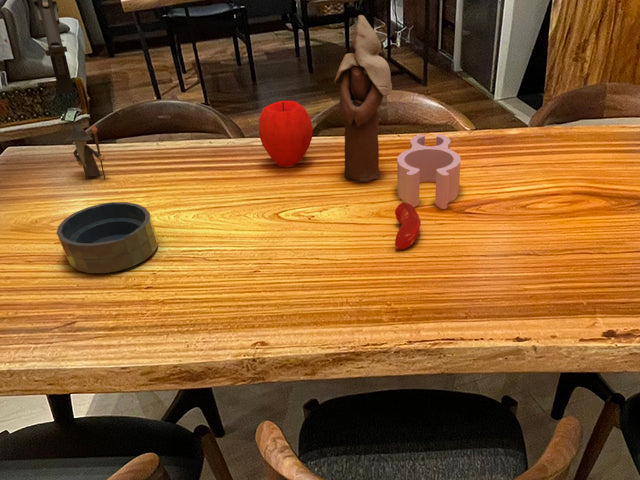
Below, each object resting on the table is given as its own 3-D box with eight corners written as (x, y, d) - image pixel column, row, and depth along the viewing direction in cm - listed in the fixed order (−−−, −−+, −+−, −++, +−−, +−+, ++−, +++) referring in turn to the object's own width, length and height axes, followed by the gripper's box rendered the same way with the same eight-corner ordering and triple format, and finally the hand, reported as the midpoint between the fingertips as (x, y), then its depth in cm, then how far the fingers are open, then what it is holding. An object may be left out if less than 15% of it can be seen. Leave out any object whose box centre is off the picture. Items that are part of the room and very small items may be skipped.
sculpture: (401, 164, 138) (400, 10, 118) (386, 189, 129) (383, 27, 109) (351, 159, 140) (343, 8, 120) (333, 184, 131) (321, 25, 111)
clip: (401, 165, 137) (401, 134, 132) (458, 166, 136) (460, 134, 131) (395, 208, 122) (394, 174, 118) (458, 209, 121) (460, 175, 117)
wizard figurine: (75, 182, 136) (54, 126, 128) (85, 171, 140) (65, 117, 132) (112, 181, 135) (94, 126, 127) (120, 170, 140) (103, 116, 131)
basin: (54, 275, 108) (40, 245, 104) (90, 231, 119) (79, 202, 115) (141, 276, 107) (131, 245, 103) (169, 231, 118) (161, 202, 114)
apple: (310, 176, 134) (304, 113, 125) (258, 175, 136) (247, 112, 127) (320, 154, 143) (314, 93, 134) (270, 153, 144) (261, 93, 135)
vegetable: (385, 202, 116) (392, 242, 109) (411, 192, 115) (420, 231, 107) (393, 221, 120) (401, 260, 112) (419, 210, 118) (429, 249, 111)
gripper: (58, -40, 106) (89, 95, 117) (57, -31, 126) (83, 84, 137) (9, -41, 104) (45, 97, 114) (16, -32, 123) (46, 86, 134)
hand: (66, 90), depth 126 cm, fingers open, 13 cm apart
